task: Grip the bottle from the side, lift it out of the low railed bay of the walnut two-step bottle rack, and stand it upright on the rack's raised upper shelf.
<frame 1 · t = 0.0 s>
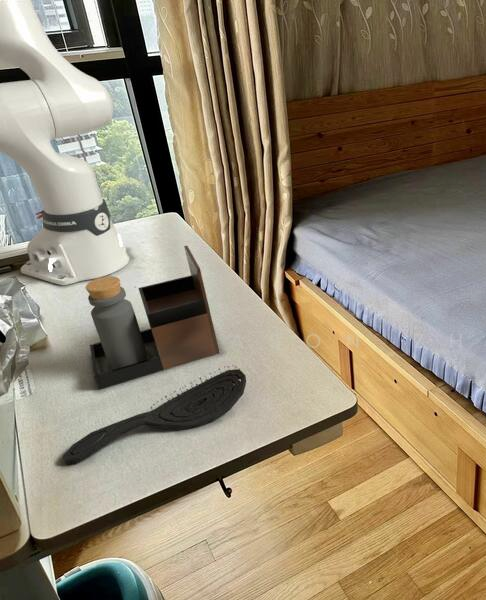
hairbrush: (163, 424, 77), on the table
bottle: (130, 363, 90), resting in bottle rack
bottle rack: (157, 355, 91), on the table
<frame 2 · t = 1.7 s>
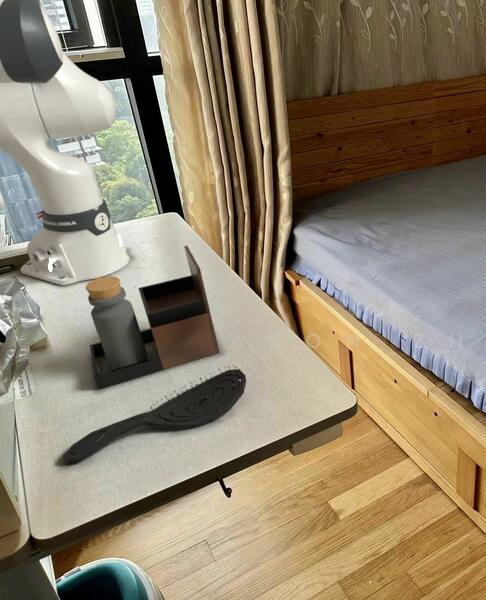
nothing on the table moved.
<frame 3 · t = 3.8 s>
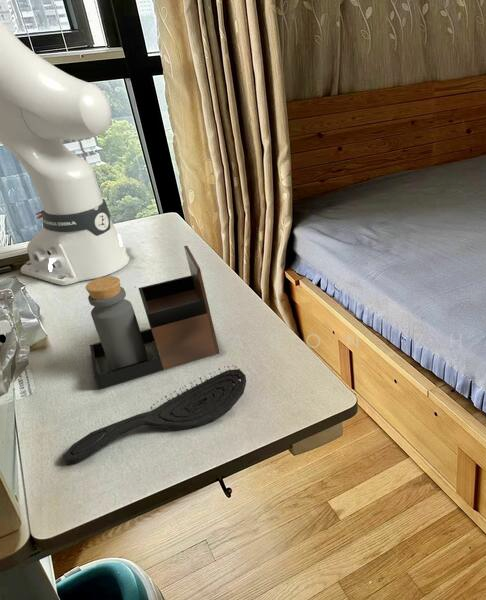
hand: (11, 308, 77), 14 cm above the table, tool horizontal, fingers open, 8 cm apart
nothing on the table moved.
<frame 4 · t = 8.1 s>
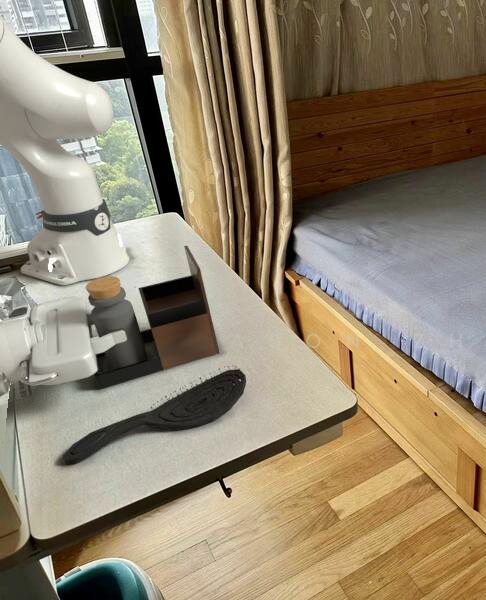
hand: (123, 322, 86), 8 cm above the table, tool horizontal, fingers closed on bottle, 6 cm apart
bottle: (130, 364, 90), resting in bottle rack, touching gripper
everything else where it was.
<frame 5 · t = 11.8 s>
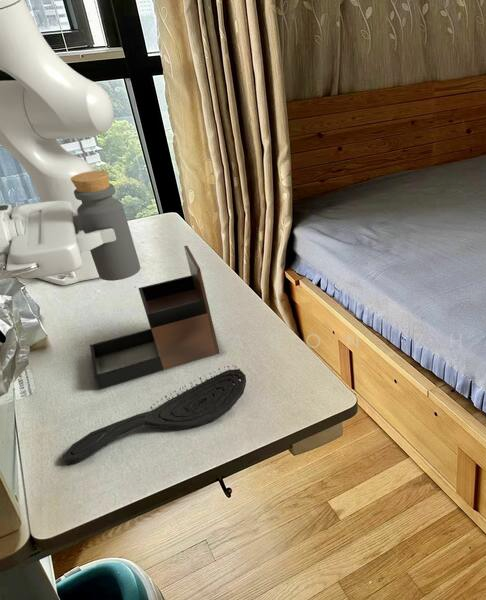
hand: (112, 224, 79), 24 cm above the table, tool horizontal, fingers closed on bottle, 6 cm apart
bottle: (120, 273, 83), point 16 cm above the table, touching gripper
everything else where it was.
when the fingers open (15 cm above the table, at t = 15.6 s): bottle stays where it is, resting on bottle rack.
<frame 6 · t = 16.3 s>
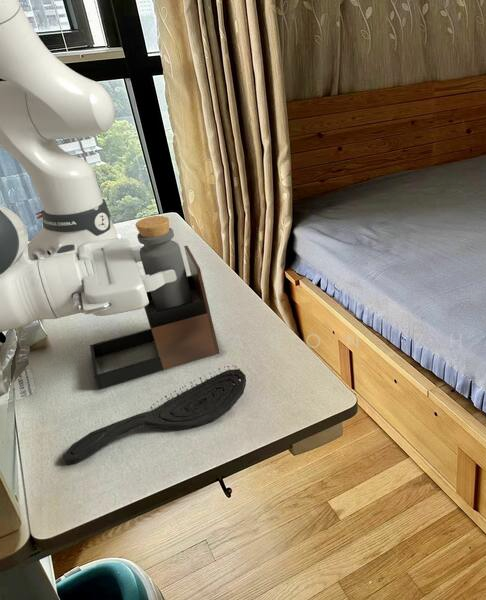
hand: (169, 261, 86), 16 cm above the table, tool horizontal, fingers open, 8 cm apart
bottle: (175, 308, 89), point 8 cm above the table, touching bottle rack
everything else where it was.
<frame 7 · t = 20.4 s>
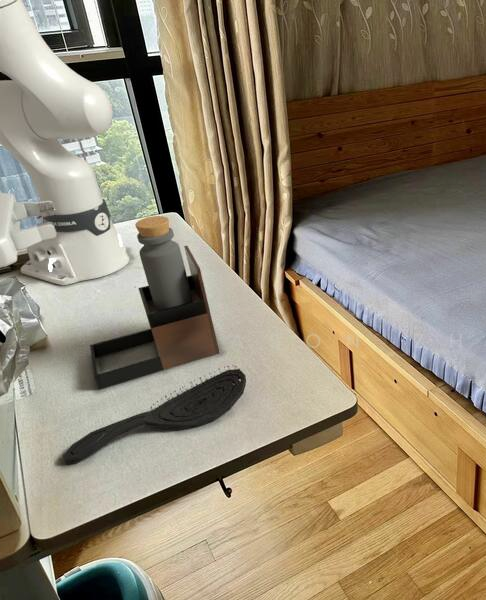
hand: (54, 217, 75), 26 cm above the table, tool horizontal, fingers open, 8 cm apart
nothing on the table moved.
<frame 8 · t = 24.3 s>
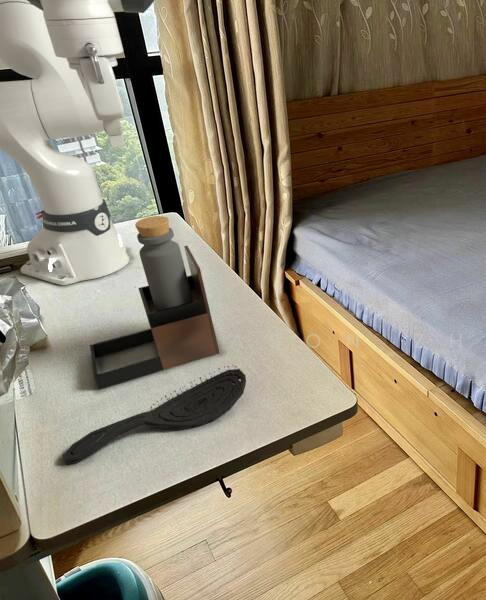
hand: (114, 139, 84), 33 cm above the table, tool pointing down, fingers open, 8 cm apart
nothing on the table moved.
at the end: bottle 0.2 cm from the target spot on the bottle rack, point 7.8 cm above the bottle rack's base; bottle tilted 0°; the gripper is holding nothing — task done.
